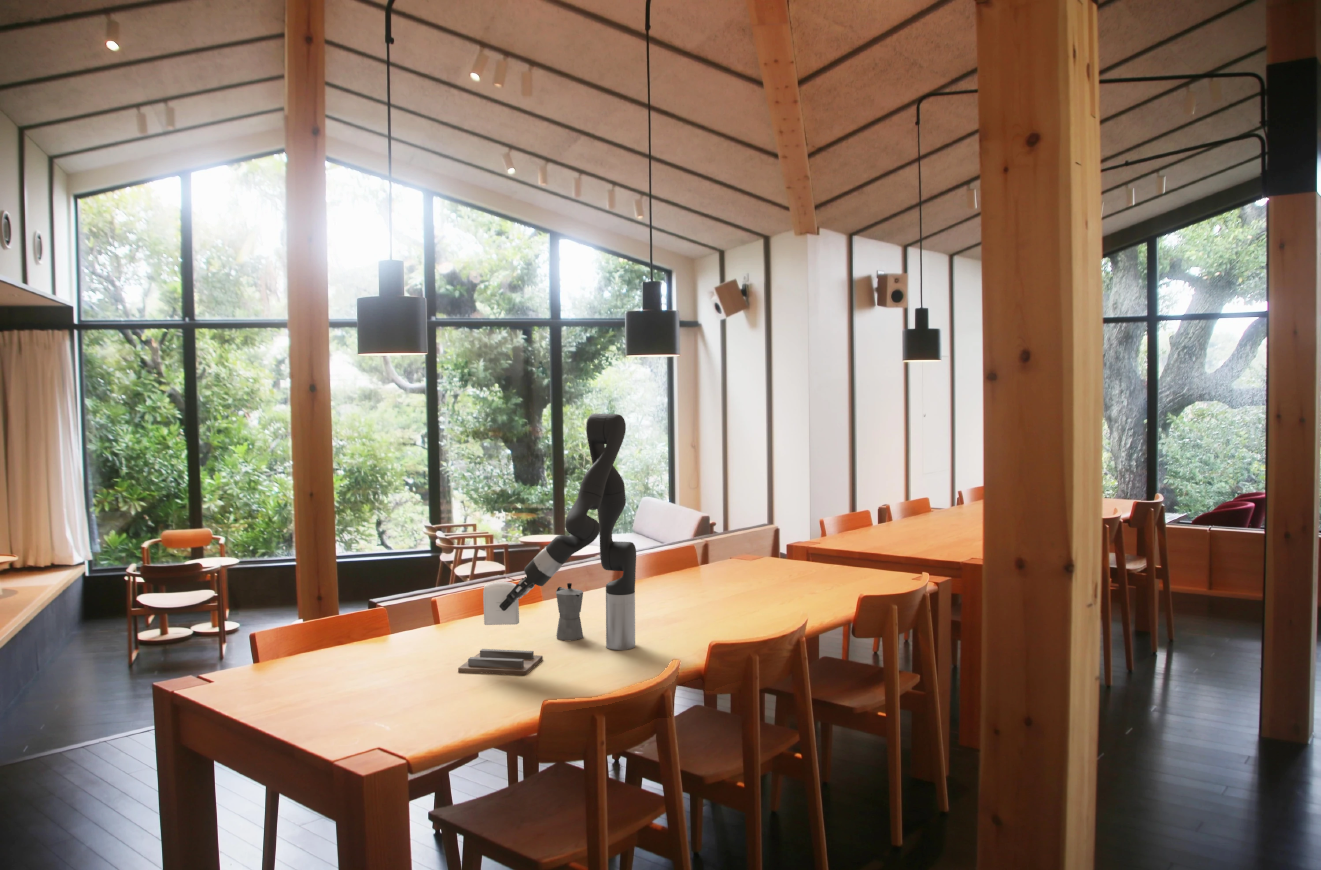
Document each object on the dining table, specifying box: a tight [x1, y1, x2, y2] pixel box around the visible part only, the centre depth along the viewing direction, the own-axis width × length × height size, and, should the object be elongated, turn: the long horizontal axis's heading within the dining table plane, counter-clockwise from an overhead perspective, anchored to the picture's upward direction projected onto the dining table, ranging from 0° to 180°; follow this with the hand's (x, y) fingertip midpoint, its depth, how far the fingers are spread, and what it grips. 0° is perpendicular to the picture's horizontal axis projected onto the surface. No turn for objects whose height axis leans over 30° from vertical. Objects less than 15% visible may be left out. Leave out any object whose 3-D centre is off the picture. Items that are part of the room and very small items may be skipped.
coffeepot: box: [555, 582, 584, 641], centre depth 286 cm, size 15×9×18 cm, turn 33°
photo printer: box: [482, 581, 520, 626], centre depth 252 cm, size 10×4×12 cm, turn 88°
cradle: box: [457, 648, 544, 676], centre depth 253 cm, size 16×20×3 cm
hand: (505, 606), depth 252 cm, fingers closed on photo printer, 4 cm apart
